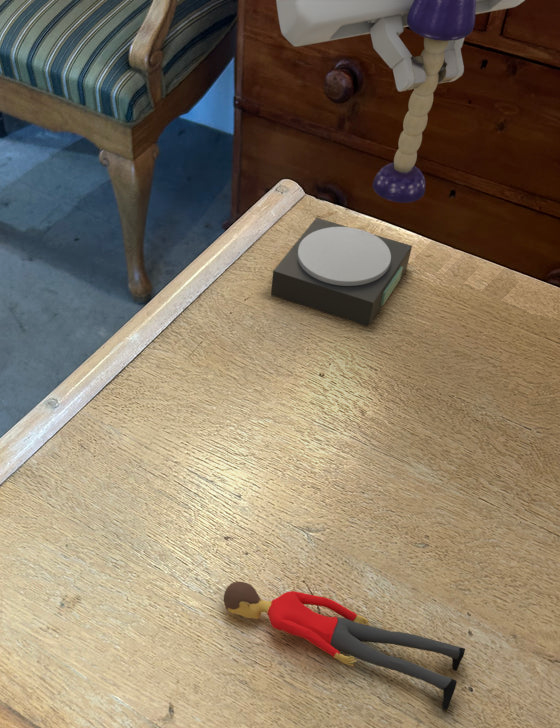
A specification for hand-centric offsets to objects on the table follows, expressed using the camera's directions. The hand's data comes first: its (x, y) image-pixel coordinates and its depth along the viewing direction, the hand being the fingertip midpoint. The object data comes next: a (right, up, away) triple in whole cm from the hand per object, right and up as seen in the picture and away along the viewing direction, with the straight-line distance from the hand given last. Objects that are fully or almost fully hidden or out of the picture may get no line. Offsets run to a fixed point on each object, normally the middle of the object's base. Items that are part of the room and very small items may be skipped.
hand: (431, 83), depth 65 cm
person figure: (+2, -43, -1) cm, 44 cm away
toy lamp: (-1, -5, +7) cm, 9 cm away
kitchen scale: (-1, -6, +30) cm, 31 cm away
